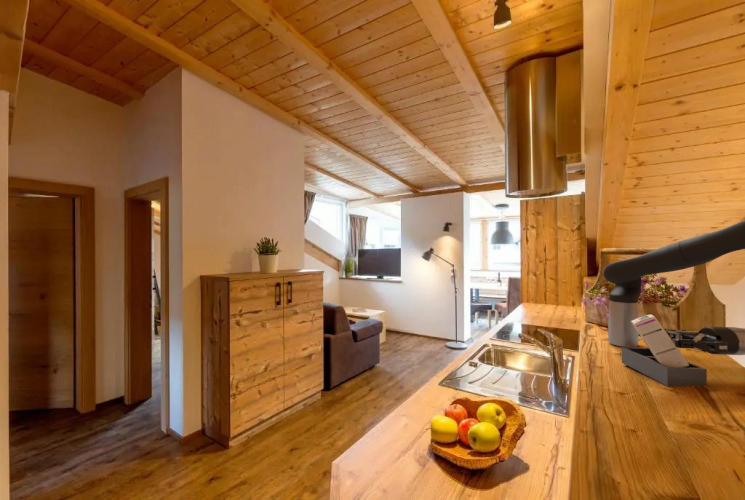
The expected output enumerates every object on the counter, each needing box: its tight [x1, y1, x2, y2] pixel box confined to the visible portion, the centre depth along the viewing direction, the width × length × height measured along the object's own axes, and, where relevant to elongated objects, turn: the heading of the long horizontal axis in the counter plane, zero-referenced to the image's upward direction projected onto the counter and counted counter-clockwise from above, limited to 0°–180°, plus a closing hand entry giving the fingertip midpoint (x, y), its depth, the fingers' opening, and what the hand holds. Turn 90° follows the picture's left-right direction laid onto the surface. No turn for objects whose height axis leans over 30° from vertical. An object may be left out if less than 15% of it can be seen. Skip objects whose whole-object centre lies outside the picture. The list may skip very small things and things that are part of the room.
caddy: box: [621, 346, 708, 387], centre depth 95 cm, size 18×10×5 cm, turn 174°
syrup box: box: [631, 313, 689, 367], centre depth 92 cm, size 6×6×14 cm
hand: (663, 339), depth 91 cm, fingers open, 8 cm apart
